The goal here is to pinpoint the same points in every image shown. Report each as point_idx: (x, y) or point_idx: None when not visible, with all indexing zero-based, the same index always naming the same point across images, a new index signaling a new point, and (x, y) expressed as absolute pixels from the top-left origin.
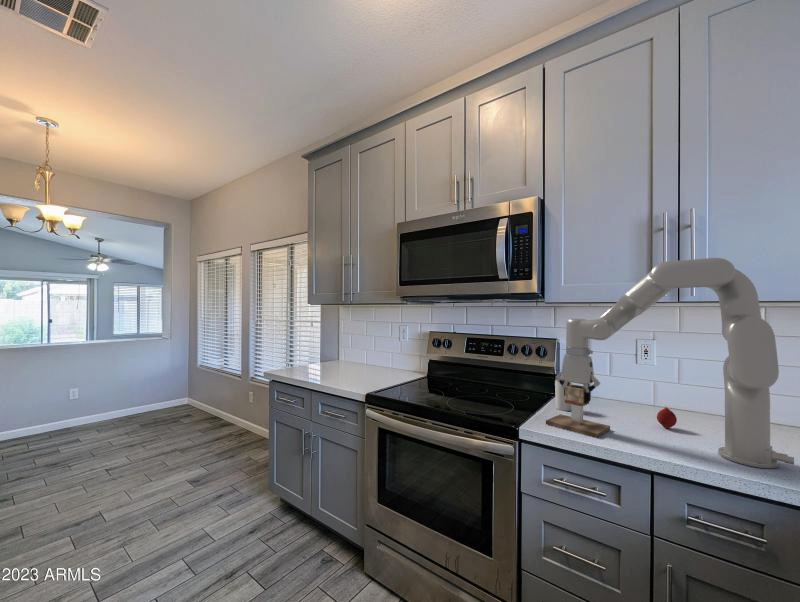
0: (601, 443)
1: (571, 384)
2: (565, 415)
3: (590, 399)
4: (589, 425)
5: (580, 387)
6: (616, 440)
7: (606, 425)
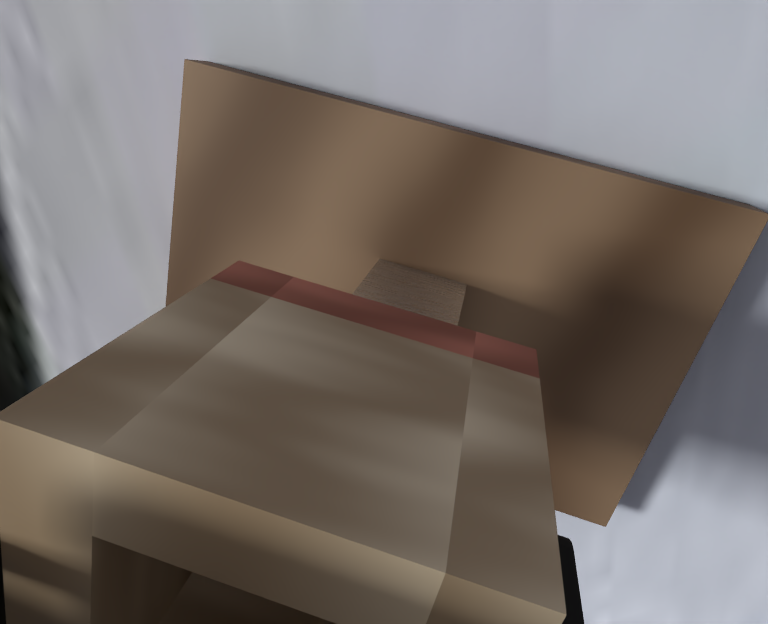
0: (623, 587)
1: (4, 474)
2: (247, 77)
3: (570, 543)
4: (532, 324)
5: (302, 575)
6: (761, 483)
7: (725, 220)
